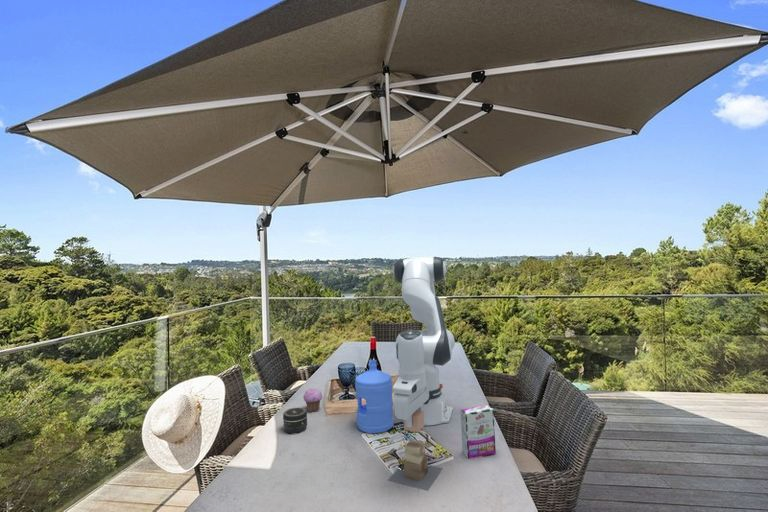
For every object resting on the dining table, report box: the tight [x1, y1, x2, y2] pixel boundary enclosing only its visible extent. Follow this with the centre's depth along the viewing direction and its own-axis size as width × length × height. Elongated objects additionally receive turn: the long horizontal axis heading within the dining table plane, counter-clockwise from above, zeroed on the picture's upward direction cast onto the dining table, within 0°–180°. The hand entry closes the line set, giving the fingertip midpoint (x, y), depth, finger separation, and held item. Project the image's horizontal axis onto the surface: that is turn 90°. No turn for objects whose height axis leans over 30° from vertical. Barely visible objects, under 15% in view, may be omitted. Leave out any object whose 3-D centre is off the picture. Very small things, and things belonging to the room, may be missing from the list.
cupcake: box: [303, 388, 323, 413], centre depth 197 cm, size 9×9×10 cm
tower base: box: [402, 455, 429, 481], centre depth 137 cm, size 6×6×5 cm
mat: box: [387, 464, 444, 492], centre depth 137 cm, size 14×14×1 cm
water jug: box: [354, 359, 395, 434], centre depth 176 cm, size 16×16×28 cm
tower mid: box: [404, 439, 426, 464], centre depth 137 cm, size 5×5×5 cm
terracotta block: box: [403, 410, 425, 433], centre depth 137 cm, size 5×5×5 cm
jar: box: [282, 407, 308, 434], centre depth 176 cm, size 10×10×8 cm
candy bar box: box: [459, 404, 497, 460], centre depth 149 cm, size 11×5×16 cm, turn 105°
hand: (414, 422), depth 137 cm, fingers closed on terracotta block, 5 cm apart
